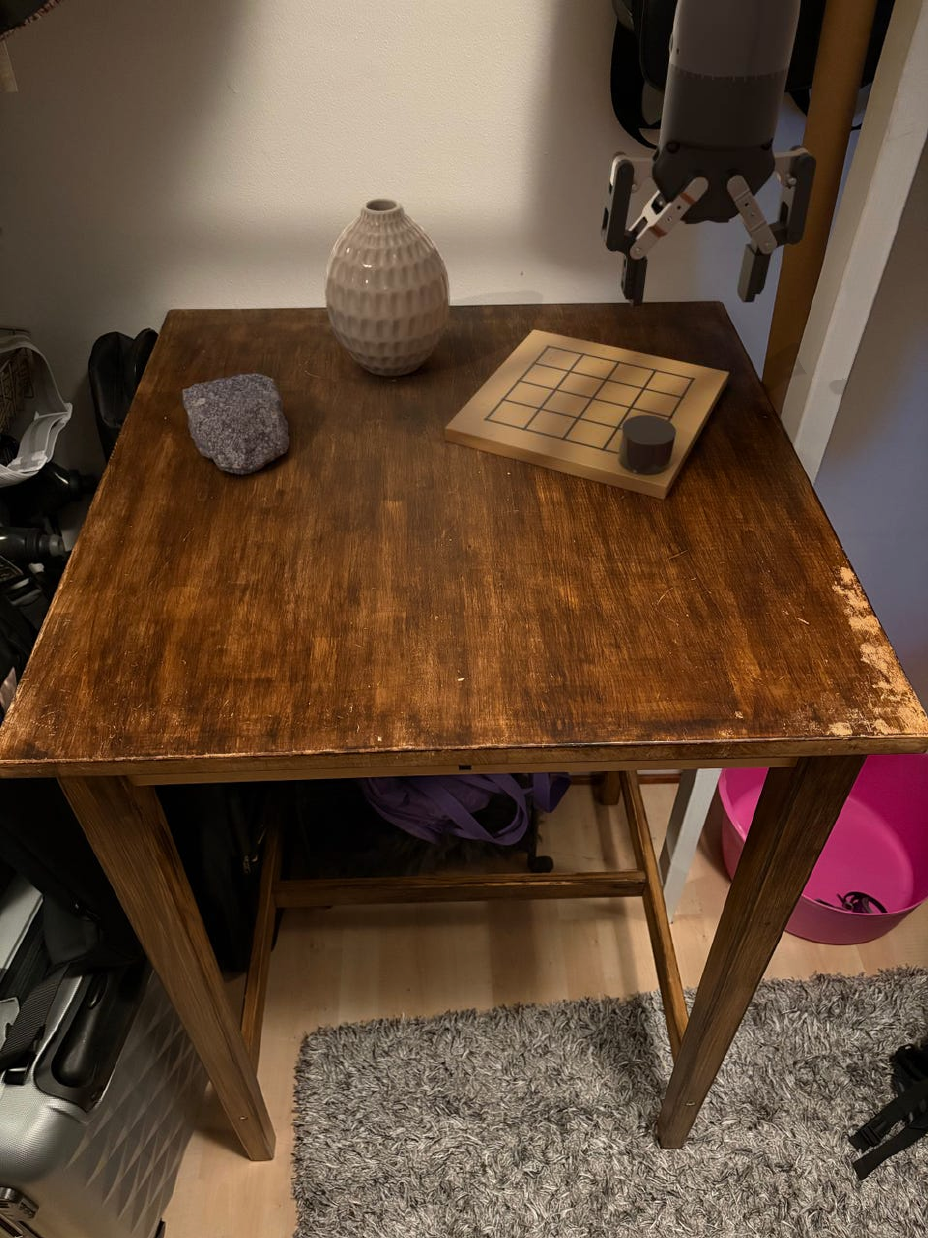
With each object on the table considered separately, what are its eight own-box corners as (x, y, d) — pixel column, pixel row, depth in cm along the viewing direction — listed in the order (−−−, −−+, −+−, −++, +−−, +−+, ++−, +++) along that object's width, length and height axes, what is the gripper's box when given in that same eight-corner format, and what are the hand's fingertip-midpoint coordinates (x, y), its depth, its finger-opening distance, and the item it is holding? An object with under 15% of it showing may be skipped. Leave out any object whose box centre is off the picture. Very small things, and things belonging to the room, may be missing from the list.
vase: (469, 378, 96) (469, 218, 84) (353, 403, 93) (337, 240, 81) (426, 326, 105) (420, 173, 93) (318, 347, 101) (299, 191, 89)
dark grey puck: (677, 452, 83) (682, 422, 81) (661, 480, 80) (667, 449, 78) (627, 439, 85) (631, 410, 83) (610, 466, 82) (614, 436, 80)
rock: (164, 390, 86) (258, 349, 89) (182, 434, 90) (271, 394, 93) (213, 455, 80) (313, 409, 83) (230, 499, 84) (325, 454, 87)
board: (726, 384, 95) (729, 371, 94) (664, 500, 81) (667, 485, 80) (533, 341, 102) (533, 328, 101) (444, 440, 88) (444, 426, 87)
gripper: (630, 74, 55) (605, 327, 66) (861, 66, 55) (798, 318, 67) (608, 45, 60) (589, 283, 71) (819, 38, 61) (767, 276, 72)
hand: (689, 300), depth 69 cm, fingers open, 8 cm apart
